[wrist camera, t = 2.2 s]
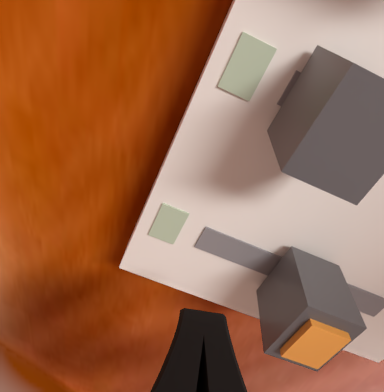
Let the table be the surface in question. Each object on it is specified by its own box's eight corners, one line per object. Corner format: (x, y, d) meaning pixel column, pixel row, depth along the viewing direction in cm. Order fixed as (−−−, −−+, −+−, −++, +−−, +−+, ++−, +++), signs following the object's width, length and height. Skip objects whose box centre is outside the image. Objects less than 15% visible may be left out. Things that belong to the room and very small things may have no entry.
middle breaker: (382, 78, 10) (440, 108, 8) (325, 157, 12) (356, 205, 9) (317, 44, 10) (353, 62, 7) (266, 130, 12) (280, 171, 9)
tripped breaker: (339, 265, 14) (370, 335, 11) (300, 307, 16) (318, 379, 13) (291, 245, 14) (310, 313, 11) (256, 290, 16) (264, 360, 13)
